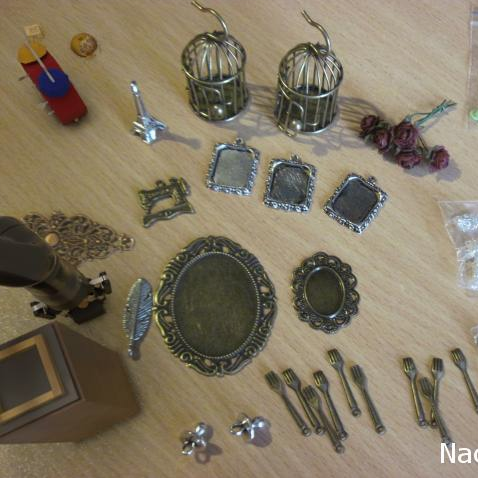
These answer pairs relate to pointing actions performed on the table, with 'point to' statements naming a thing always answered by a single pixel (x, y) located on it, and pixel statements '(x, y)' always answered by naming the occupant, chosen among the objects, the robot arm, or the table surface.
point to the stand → (60, 387)
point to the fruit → (85, 46)
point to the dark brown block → (87, 311)
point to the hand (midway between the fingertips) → (86, 305)
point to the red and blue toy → (51, 82)
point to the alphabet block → (33, 33)
